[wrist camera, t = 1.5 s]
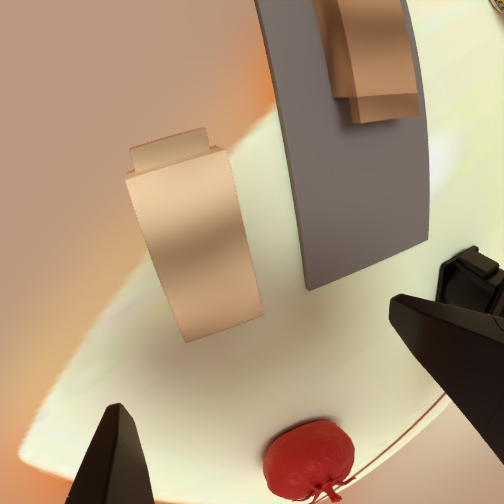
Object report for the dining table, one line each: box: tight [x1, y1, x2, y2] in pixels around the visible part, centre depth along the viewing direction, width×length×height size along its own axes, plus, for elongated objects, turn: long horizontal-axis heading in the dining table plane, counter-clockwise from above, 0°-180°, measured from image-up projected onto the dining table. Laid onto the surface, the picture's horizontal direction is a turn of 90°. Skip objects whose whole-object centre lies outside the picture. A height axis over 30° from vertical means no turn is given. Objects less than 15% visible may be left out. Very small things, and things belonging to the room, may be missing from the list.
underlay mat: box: [254, 0, 429, 291], centre depth 19 cm, size 20×12×1 cm, turn 13°
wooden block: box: [312, 0, 420, 123], centre depth 16 cm, size 8×5×2 cm, turn 13°
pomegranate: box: [263, 420, 356, 504], centre depth 27 cm, size 10×10×9 cm
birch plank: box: [125, 127, 264, 343], centre depth 18 cm, size 11×5×2 cm, turn 13°
